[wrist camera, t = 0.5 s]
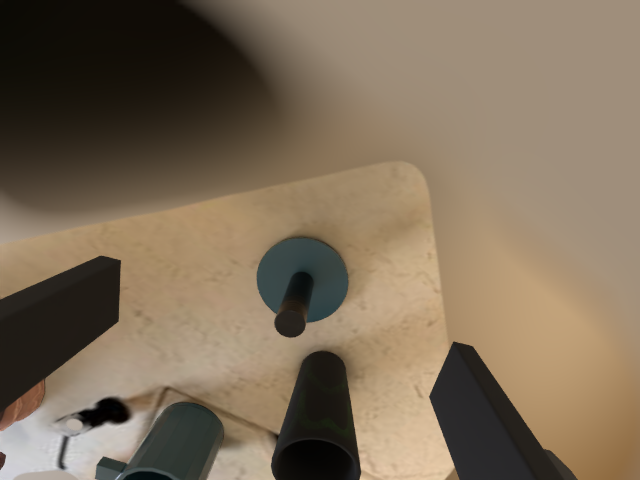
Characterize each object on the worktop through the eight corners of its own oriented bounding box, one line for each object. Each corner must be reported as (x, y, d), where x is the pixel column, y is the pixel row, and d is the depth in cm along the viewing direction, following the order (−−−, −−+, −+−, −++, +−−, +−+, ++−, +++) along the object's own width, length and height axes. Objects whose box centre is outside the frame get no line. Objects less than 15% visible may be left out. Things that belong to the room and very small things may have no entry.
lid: (272, 223, 31) (246, 251, 23) (360, 252, 32) (368, 291, 23) (249, 302, 34) (219, 353, 26) (331, 328, 35) (327, 388, 26)
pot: (144, 387, 39) (93, 450, 31) (249, 420, 40) (226, 490, 32) (136, 436, 42) (87, 505, 34) (234, 466, 42) (209, 541, 34)
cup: (286, 386, 38) (262, 489, 26) (300, 336, 35) (281, 426, 24) (344, 401, 38) (346, 511, 26) (362, 353, 35) (372, 450, 24)
